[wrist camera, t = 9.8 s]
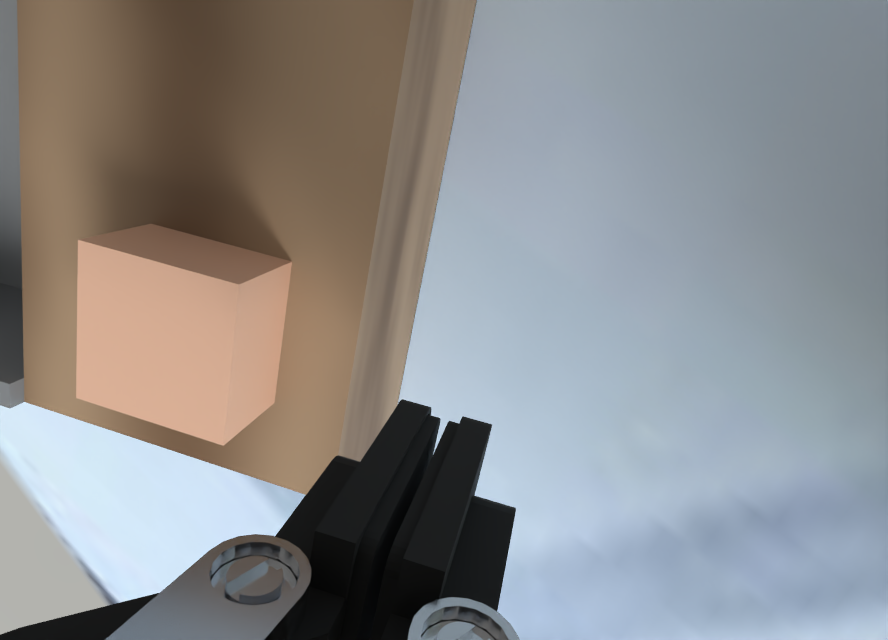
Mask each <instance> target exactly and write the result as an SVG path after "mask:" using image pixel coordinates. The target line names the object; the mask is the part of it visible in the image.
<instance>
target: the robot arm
mask: <svg viewBox="0 0 888 640" xmlns="http://www.w3.org/2000/svg"><path fill="white" fill-rule="evenodd" d="M439 425H440V418H437V417H434V416H431V407H428V406H424V405H421V404H417V403H413V402H410V401H406V400H403V399H402V400H401V401H400V402H399V404H398V405H397V407H396V408H395V410H394V411H393V413H392V414H391V416H390V417H389V419H388V420H387V422H386V423H385V425H384V426H383V428H382V429H381V431H380V432H379V434H378V436H377V437H376V439H375V440H374V442H373V443H372V445H371V446H370V448H369V449H368V451H367V452H366V454H365V455H364V457H363V458H362V460H361V461H360V462H359V461H356V460H353V459H349V458H346V457H343V456H339V455H338V456H335V457H334V459H333V460H332V461H331V462H330V463H329V465H328V466H327V467H326V469H325V470H324V472H323V473H322V474H321V476H320V477H319V478H318V480H317V481H316V482H315V484H314V485H313V486H312V488H311V489H310V490H309V492H308V493H307V494H306V496H305V497H304V498H303V500H302V501H301V502H300V504H299V505H298V506H297V508H296V509H295V511H294V512H293V513H292V515H291V516H290V517H289V519H288V520H287V521H286V523H285V524H284V525H283V527H282V528H281V529H280V531H279V532H278V533H277V535H276V536H275V537H274V536H269V535H257V534H254V535H246V536H238V537H235V538H233V539H230V540H227V541H224V542H222V543H220V544H219V545H217V546H216V547H214V548H213V549H211V550H210V551H208V552H207V553H206V554H205V555H204V556H203V557H201V558H200V559H199V560H198V561H197V562H196V563H194V564H193V565H192V566H191V567H190V568H189V569H187V570H186V571H185V572H184V573H183V574H182V575H180V576H179V577H178V578H177V579H176V580H174V581H173V582H172V583H171V584H170V585H169V586H167V587H166V588H165V589H164V590H163V591H162V592H160V593H157V594H153V595H149V596H145V597H141V598H137V599H133V600H129V601H125V602H121V603H117V604H113V605H109V606H105V607H101V608H97V609H94V610H90V611H85V612H81V613H77V614H74V615H69V616H65V617H61V618H57V619H53V620H49V621H46V622H41V623H37V624H33V625H29V626H25V627H22V628H18V629H16V630H13V631H10V632H7V633H4V634H1V635H0V640H520V639H519V637H518V635H517V634H516V632H515V630H514V629H513V627H512V625H511V624H510V623H509V622H508V621H507V620H506V619H505V618H504V617H503V616H502V615H501V614H500V613H499V612H497V609H498V604H499V598H500V593H501V587H502V582H503V577H504V571H505V566H506V560H507V555H508V550H509V544H510V539H511V533H512V528H513V522H514V517H515V511H516V508H514V507H510V506H507V505H504V504H500V503H497V502H493V501H490V500H487V499H483V498H480V497H477V496H474V495H475V491H476V487H477V483H478V479H479V475H480V471H481V467H482V463H483V459H484V455H485V451H486V447H487V443H488V439H489V435H490V431H491V427H492V425H491V424H488V423H484V422H481V421H477V420H474V419H470V418H467V417H462V419H461V421H460V424H458V423H455V422H451V421H449V422H448V424H447V426H446V428H445V430H444V433H443V435H442V437H441V439H440V441H439V444H438V446H437V448H436V450H435V452H434V448H435V443H436V439H437V434H438V430H439ZM433 452H434V454H433Z"/></svg>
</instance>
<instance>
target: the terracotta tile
mask: <svg viewBox="0 0 888 640" xmlns="http://www.w3.org/2000/svg"><path fill="white" fill-rule="evenodd" d="M291 267H292V261H288V260H285V259H281V258H277V257H273V256H270V255H266V254H262V253H259V252H255V251H251V250H247V249H244V248H240V247H236V246H232V245H229V244H225V243H221V242H218V241H214V240H210V239H206V238H203V237H199V236H195V235H191V234H188V233H184V232H180V231H177V230H173V229H169V228H165V227H162V226H158V225H154V224H147V225H143V226H138V227H134V228H129V229H124V230H120V231H115V232H111V233H106V234H102V235H97V236H93V237H88V238H83V239H79V240H78V275H77V364H76V398H78V399H81V400H84V401H87V402H90V403H93V404H96V405H99V406H102V407H105V408H109V409H112V410H115V411H118V412H121V413H124V414H127V415H130V416H133V417H136V418H139V419H142V420H146V421H149V422H152V423H155V424H158V425H161V426H164V427H167V428H170V429H173V430H176V431H179V432H183V433H186V434H189V435H192V436H195V437H198V438H201V439H204V440H207V441H210V442H213V443H216V444H220V445H223V446H224V445H225V444H226V443H227V442H228V441H230V440H231V439H232V438H233V437H234V436H236V435H237V434H238V433H239V432H240V431H242V430H243V429H244V428H245V427H246V426H248V425H249V424H250V423H251V422H252V421H254V420H255V419H256V418H257V417H258V416H259V415H261V414H262V413H263V412H264V411H265V410H267V409H268V408H269V407H270V406H271V405H273V404H274V402H275V395H276V387H277V379H278V371H279V363H280V355H281V347H282V339H283V331H284V323H285V315H286V307H287V299H288V291H289V283H290V275H291Z"/></svg>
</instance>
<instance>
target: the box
mask: <svg viewBox="0 0 888 640" xmlns="http://www.w3.org/2000/svg"><path fill="white" fill-rule="evenodd" d="M23 402H24V354H23V300H22V246H21V192H20V137H19V83H18V29H17V0H0V405H1V406H4V407H7V408H12V407H14V406H16V405H18V404H20V403H23Z"/></svg>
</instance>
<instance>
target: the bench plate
mask: <svg viewBox="0 0 888 640" xmlns="http://www.w3.org/2000/svg"><path fill="white" fill-rule="evenodd" d="M476 1H477V0H17V29H18V83H19V137H20V192H21V246H22V300H23V354H24V402H27V403H30V404H33V405H36V406H39V407H42V408H45V409H48V410H51V411H54V412H57V413H60V414H63V415H66V416H69V417H72V418H75V419H78V420H81V421H84V422H87V423H91V424H94V425H97V426H100V427H103V428H106V429H109V430H112V431H115V432H118V433H121V434H124V435H127V436H130V437H133V438H136V439H139V440H142V441H145V442H148V443H151V444H154V445H157V446H160V447H163V448H166V449H169V450H172V451H175V452H178V453H181V454H184V455H187V456H190V457H193V458H196V459H200V460H203V461H206V462H209V463H212V464H215V465H218V466H221V467H224V468H227V469H230V470H233V471H236V472H239V473H242V474H245V475H248V476H251V477H254V478H257V479H260V480H263V481H266V482H269V483H272V484H275V485H278V486H281V487H284V488H287V489H290V490H293V491H296V492H299V493H302V494H305V495H306V494H307V493H308V492H309V490H310V489H311V488H312V486H313V485H314V484H315V482H316V481H317V480H318V478H319V477H320V476H321V474H322V473H323V472H324V470H325V469H326V467H327V466H328V465H329V463H330V462H331V461H332V460H333V459H334V457H335V456H338V455H339V456H343V457H346V458H349V459H353V460H356V461H359V462H360V461H361V460H362V458H363V457H364V455H365V454H366V452H367V451H368V449H369V448H370V446H371V445H372V443H373V442H374V440H375V439H376V437H377V436H378V434H379V432H380V431H381V429H382V428H383V426H384V425H385V423H386V422H387V420H388V419H389V417H390V416H391V414H392V413H393V411H394V410H395V408H396V407H397V404H398V399H399V394H400V389H401V384H402V378H403V373H404V368H405V363H406V358H407V353H408V348H409V343H410V338H411V333H412V327H413V322H414V317H415V312H416V307H417V302H418V297H419V292H420V287H421V282H422V277H423V271H424V266H425V261H426V256H427V251H428V246H429V241H430V236H431V231H432V226H433V220H434V215H435V210H436V205H437V200H438V195H439V190H440V185H441V180H442V175H443V169H444V164H445V159H446V154H447V149H448V144H449V139H450V134H451V129H452V124H453V119H454V113H455V108H456V103H457V98H458V93H459V88H460V83H461V78H462V73H463V68H464V62H465V57H466V52H467V47H468V42H469V37H470V32H471V27H472V22H473V17H474V11H475V6H476ZM147 224H154V225H158V226H162V227H165V228H169V229H173V230H177V231H180V232H184V233H188V234H191V235H195V236H199V237H203V238H206V239H210V240H214V241H218V242H221V243H225V244H229V245H232V246H236V247H240V248H244V249H247V250H251V251H255V252H259V253H262V254H266V255H270V256H273V257H277V258H281V259H285V260H288V261H292V267H291V275H290V283H289V291H288V299H287V307H286V315H285V323H284V331H283V339H282V347H281V355H280V363H279V371H278V379H277V387H276V395H275V402H274V404H273V405H271V406H270V407H269V408H268V409H267V410H265V411H264V412H263V413H262V414H261V415H259V416H258V417H257V418H256V419H255V420H254V421H252V422H251V423H250V424H249V425H248V426H246V427H245V428H244V429H243V430H242V431H240V432H239V433H238V434H237V435H236V436H234V437H233V438H232V439H231V440H230V441H228V442H227V443H226V444H225V445H224V446H223V445H220V444H216V443H213V442H210V441H207V440H204V439H201V438H198V437H195V436H192V435H189V434H186V433H183V432H179V431H176V430H173V429H170V428H167V427H164V426H161V425H158V424H155V423H152V422H149V421H146V420H142V419H139V418H136V417H133V416H130V415H127V414H124V413H121V412H118V411H115V410H112V409H109V408H105V407H102V406H99V405H96V404H93V403H90V402H87V401H84V400H81V399H78V398H76V364H77V275H78V240H79V239H83V238H88V237H93V236H97V235H102V234H106V233H111V232H115V231H120V230H124V229H129V228H134V227H138V226H143V225H147Z"/></svg>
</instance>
